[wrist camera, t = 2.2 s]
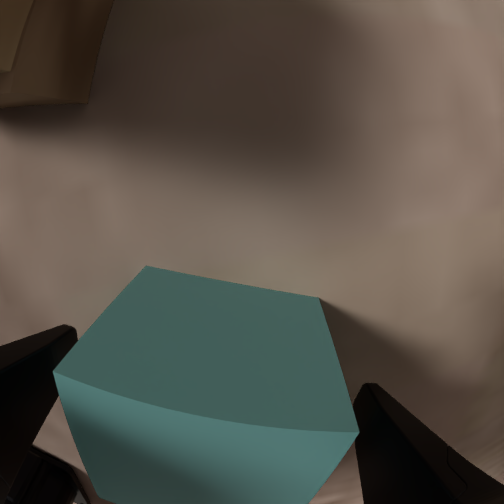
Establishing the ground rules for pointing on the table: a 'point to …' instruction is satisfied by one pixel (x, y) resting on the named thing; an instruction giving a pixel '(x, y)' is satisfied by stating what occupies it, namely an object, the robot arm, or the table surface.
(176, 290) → the teal block
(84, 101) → the tower base
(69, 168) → the table surface
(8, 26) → the tower top
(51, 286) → the table surface
